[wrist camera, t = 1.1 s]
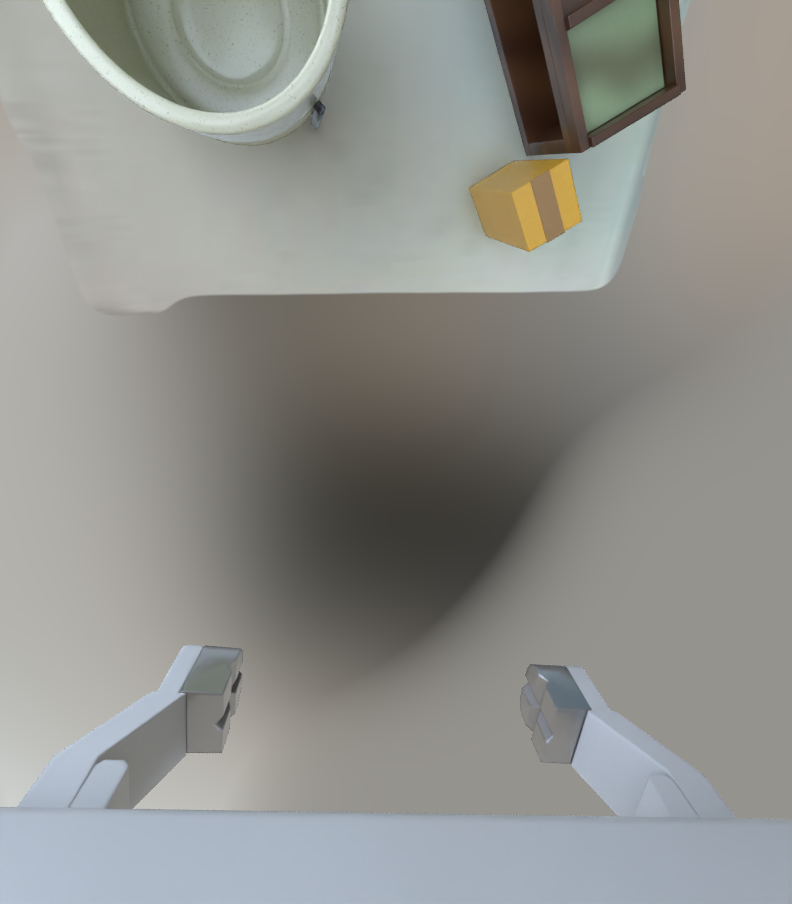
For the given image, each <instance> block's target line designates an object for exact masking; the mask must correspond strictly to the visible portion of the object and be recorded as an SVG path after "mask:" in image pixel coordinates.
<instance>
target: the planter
mask: <svg viewBox="0 0 792 904" xmlns="http://www.w3.org/2000/svg"><path fill="white" fill-rule="evenodd" d="M43 2H44V4H45V5H46V7H47V9H48V10H49V12H50V14H51V15H52V17H53V18H54V20H55V21H56V23H57V24H58V25H59V27H60V28H61V30H62V31H63V33H64V34H65V35H66V37H67V38H68V39H69V41H70V42H71V43H72V45H73V46H74V47H75V48H76V49H77V51H78V52H79V53H80V54H81V55H82V56H83V58H84V59H85V60H86V61H87V62H88V63H89V64H90V65H91V66H92V67H93V68H94V69H95V71H96V72H97V73H99V74H100V75H101V76H102V77H103V78H104V79H105V80H106V81H107V82H108V83H109V84H110V85H112V86H113V87H114V88H115V89H116V90H117V91H119V92H120V93H121V94H122V95H124V96H125V97H126V98H128V99H129V100H130V101H132V102H133V103H135V104H136V105H138V106H139V107H141V108H142V109H144V110H146V111H147V112H149V113H151V114H153V115H154V116H156V117H158V118H160V119H163V120H165V121H167V122H169V123H172V124H174V125H177V126H179V127H182V128H185V129H188V130H191V131H193V132H196V133H199V134H202V135H205V136H208V137H211V138H214V139H217V140H220V141H223V142H226V143H231V144H236V145H261V144H266V143H270V142H273V141H276V140H279V139H281V138H283V137H285V136H287V135H288V134H290V133H292V132H293V131H294V130H296V129H297V128H298V127H299V126H300V125H301V124H303V123H304V121H305V120H306V119H307V118H308V117H309V116H310V114H311V115H312V121H311V125H312V126H313V127H314V128H315V129H317V127H318V126H319V125H320V122H321V119H322V116H323V114H324V111H325V107H324V105H323V104H322V103H321V102H320V99H321V97H322V95H323V92H324V90H325V88H326V85H327V82H328V79H329V76H330V72H331V69H332V65H333V61H334V58H335V54H336V51H337V47H338V43H339V40H340V36H341V33H342V29H343V26H344V21H345V16H346V12H347V6H348V0H43Z"/></svg>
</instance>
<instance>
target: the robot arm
mask: <svg viewBox="0 0 792 904" xmlns="http://www.w3.org/2000/svg"><path fill="white" fill-rule="evenodd" d="M242 662H243V650H242V649H240V648H228V647H214V646H197V645H185V646H184V647H183V648H182V649H181V650H180V652H179V654H178V656H177V657H176V659H175V661H174V663H173V664H172V666H171V668H170V670H169V671H168V673H167V675H166V677H165V679H164V680H163V682H162V684H161V686H160V687H159V690H158V691H157V692H150V693H149V694H147V695H145V696H144V697H142V698H141V699H139V700H138V701H136V702H135V703H133V704H132V705H130V706H129V707H127V708H126V709H124V710H123V711H121V712H120V713H118V714H117V715H115V716H114V717H112V718H111V719H110V720H108V721H106V722H105V723H103V724H102V725H100V726H99V727H97V728H96V729H94V730H93V731H92V732H90V733H88V734H87V735H85V736H83V737H82V738H80V739H79V740H77V741H76V742H74V743H73V744H71V745H70V746H68V747H67V748H65V749H64V750H62V751H61V752H59V753H58V754H56V755H55V756H54V757H53V758H52V759H51V761H50V762H49V763H48V765H47V766H46V768H45V769H44V771H43V772H42V773H41V775H40V776H39V777H38V779H37V780H36V782H35V783H34V785H33V786H32V787H31V788H30V790H29V791H28V793H27V794H26V795H25V797H24V798H23V800H22V801H21V802H20V804H19V805H18V807H0V904H792V819H752V818H736V817H735V815H734V814H733V813H732V812H731V810H730V809H729V808H728V806H727V805H726V804H725V802H724V801H723V800H722V798H721V797H720V796H719V794H718V793H717V792H716V790H715V789H714V788H713V786H712V785H711V784H710V782H709V781H708V780H707V779H706V777H705V776H704V775H703V774H702V773H701V772H699V771H698V770H696V769H695V768H694V767H692V766H691V765H690V764H688V763H687V762H685V761H684V760H683V759H681V758H679V757H678V756H677V755H676V754H674V753H673V752H672V751H670V750H669V749H667V748H666V747H665V746H663V745H662V744H660V743H659V742H657V741H656V740H655V739H653V738H652V737H651V736H649V735H648V734H646V733H645V732H644V731H642V730H641V729H639V728H638V727H637V726H635V725H634V724H633V723H631V722H630V721H628V720H627V719H626V718H624V717H623V716H621V715H620V714H618V713H617V712H612V711H611V710H610V709H609V707H608V706H607V704H606V703H605V701H604V700H603V698H602V697H601V695H600V694H599V692H598V690H597V689H596V687H595V686H594V684H593V683H592V681H591V680H590V678H589V677H588V675H587V674H586V672H585V671H584V669H583V668H582V667H580V666H567V665H563V666H558V665H536V664H530V665H529V667H528V668H527V671H526V678H527V680H528V683H527V684H526V685H525V686H524V687H523V688H522V691H521V696H520V709H521V713H522V717H523V720H524V722H525V725H526V726H528V728H530V729H531V730H532V731H533V735H532V742H533V744H534V747H535V749H536V752H537V754H538V756H539V759H540V761H541V762H547V763H562V764H563V763H564V764H571V766H572V767H573V768H574V770H575V771H576V772H577V773H578V774H579V775H580V776H581V777H582V778H583V779H584V780H585V781H586V782H587V783H588V784H589V785H590V787H591V788H592V789H593V790H594V791H595V792H596V793H597V794H598V795H599V796H600V797H601V798H602V799H603V800H604V801H605V802H606V803H607V804H608V806H609V807H610V808H611V809H612V810H613V811H614V812H615V813H616V814H617V815H618V816H548V815H491V814H489V815H488V814H429V813H428V814H427V813H361V812H295V811H226V810H225V811H224V810H162V809H158V810H157V809H133V808H134V807H135V806H136V805H137V804H138V803H139V802H140V801H141V800H142V799H143V798H144V797H145V796H146V795H147V794H148V793H149V792H150V790H152V789H153V788H154V787H155V786H156V785H157V784H158V783H159V781H161V780H162V779H163V778H164V777H165V776H166V775H167V774H168V772H170V771H171V770H172V769H173V768H174V767H175V766H176V765H177V763H178V762H179V761H181V759H182V758H184V757H185V755H186V753H222V751H223V748H224V745H225V742H226V739H227V736H228V733H229V730H230V717H231V716H232V715H234V714H235V711H236V708H237V705H238V701H239V696H240V692H241V684H242V674H241V673H240V671H239V670H240V667H241V665H242Z"/></svg>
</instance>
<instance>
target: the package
mask: <svg viewBox="0 0 792 904" xmlns="http://www.w3.org/2000/svg"><path fill="white" fill-rule="evenodd" d="M469 190H470V192H471V195H472V198H473V201H474V204H475V206H476V209H477V212H478V215H479V218H480V221H481V223H482V226H483V229H484V232H485V235H486V236H488V237H490V238H493V239H496V240H498V241H501V242H504V243H507V244H509V245H512V246H515V247H518V248H520V249H523V250H526V251H528V252H530V251H532V250H533V249H535V248H537V247H538V246H540V245H542V244H544V243H545V242H549V241H551V240H553V239H554V238H556V237H558V236H559V235H561V234H563V233H565V231H566V230H568V229H569V228H571V227H573V226H574V225H576V224H578V223H580V222H581V221H582V218H581V213H580V209H579V205H578V200H577V196H576V191H575V187H574V182H573V178H572V174H571V169H570V165H569V160H568V159H550V160H524V161H512V162H511V163H509V164H507V165H506V166H504V167H503V168H501V169H499V170H498V171H496V172H494V173H493V174H491V175H490V176H488V177H486V178H485V179H483V180H481V181H480V182H478V183H477V184H475V185H473V186H472V187H470V188H469Z"/></svg>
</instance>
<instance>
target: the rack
mask: <svg viewBox="0 0 792 904" xmlns="http://www.w3.org/2000/svg"><path fill="white" fill-rule="evenodd" d="M484 2H485V5H486V9H487V13H488V16H489V20H490V24H491V27H492V31H493V34H494V38H495V42H496V45H497V49H498V53H499V56H500V60H501V64H502V67H503V71H504V75H505V78H506V82H507V86H508V89H509V93H510V97H511V100H512V104H513V108H514V111H515V115H516V119H517V122H518V126H519V130H520V133H521V137H522V141H523V144H524V148H525V152H526V155H527V156H531V155H547V154H563V153H582V152H584V151H585V150H587V149H589V148H590V147H595V146H596V145H598V144H599V143H601V142H603V141H604V140H606V139H608V138H609V137H611V136H613V135H614V134H616V133H618V132H619V131H621V130H623V129H624V128H626V127H628V126H629V125H631V124H633V123H634V122H636V121H638V120H639V119H641V118H643V117H644V116H646V115H648V114H649V113H651V112H653V111H654V110H656V109H657V108H659V107H661V106H662V105H664V104H666V103H667V102H669V101H671V100H672V99H674V98H676V97H677V96H679V95H680V94H681V92H683V91H685V89H686V85H685V72H684V59H683V47H682V34H681V22H680V9H679V0H484Z"/></svg>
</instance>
